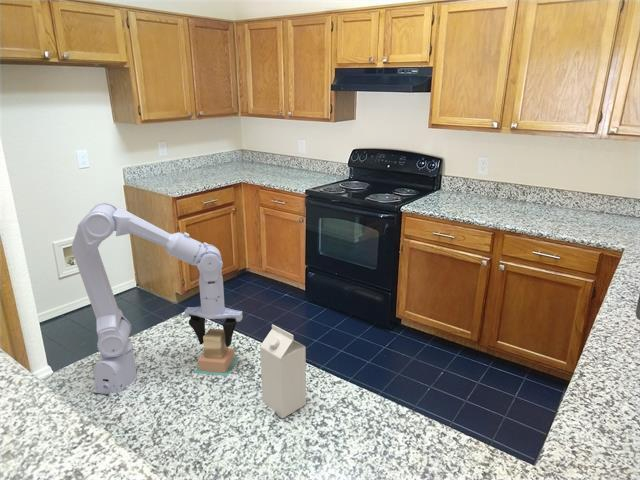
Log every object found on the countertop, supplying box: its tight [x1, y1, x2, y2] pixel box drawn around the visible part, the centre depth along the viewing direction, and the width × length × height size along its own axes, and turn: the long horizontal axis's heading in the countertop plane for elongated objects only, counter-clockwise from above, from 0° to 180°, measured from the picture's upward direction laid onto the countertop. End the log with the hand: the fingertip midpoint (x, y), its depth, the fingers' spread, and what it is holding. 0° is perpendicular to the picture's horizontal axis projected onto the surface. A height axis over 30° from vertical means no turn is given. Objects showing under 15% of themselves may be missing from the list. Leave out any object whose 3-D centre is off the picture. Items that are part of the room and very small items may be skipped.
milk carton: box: [259, 324, 307, 419], centre depth 100 cm, size 7×7×19 cm
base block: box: [197, 347, 236, 373], centre depth 117 cm, size 7×7×3 cm
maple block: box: [203, 328, 229, 359], centre depth 116 cm, size 4×4×6 cm
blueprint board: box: [193, 356, 240, 377], centre depth 118 cm, size 14×12×1 cm
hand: (215, 343), depth 116 cm, fingers open, 6 cm apart
